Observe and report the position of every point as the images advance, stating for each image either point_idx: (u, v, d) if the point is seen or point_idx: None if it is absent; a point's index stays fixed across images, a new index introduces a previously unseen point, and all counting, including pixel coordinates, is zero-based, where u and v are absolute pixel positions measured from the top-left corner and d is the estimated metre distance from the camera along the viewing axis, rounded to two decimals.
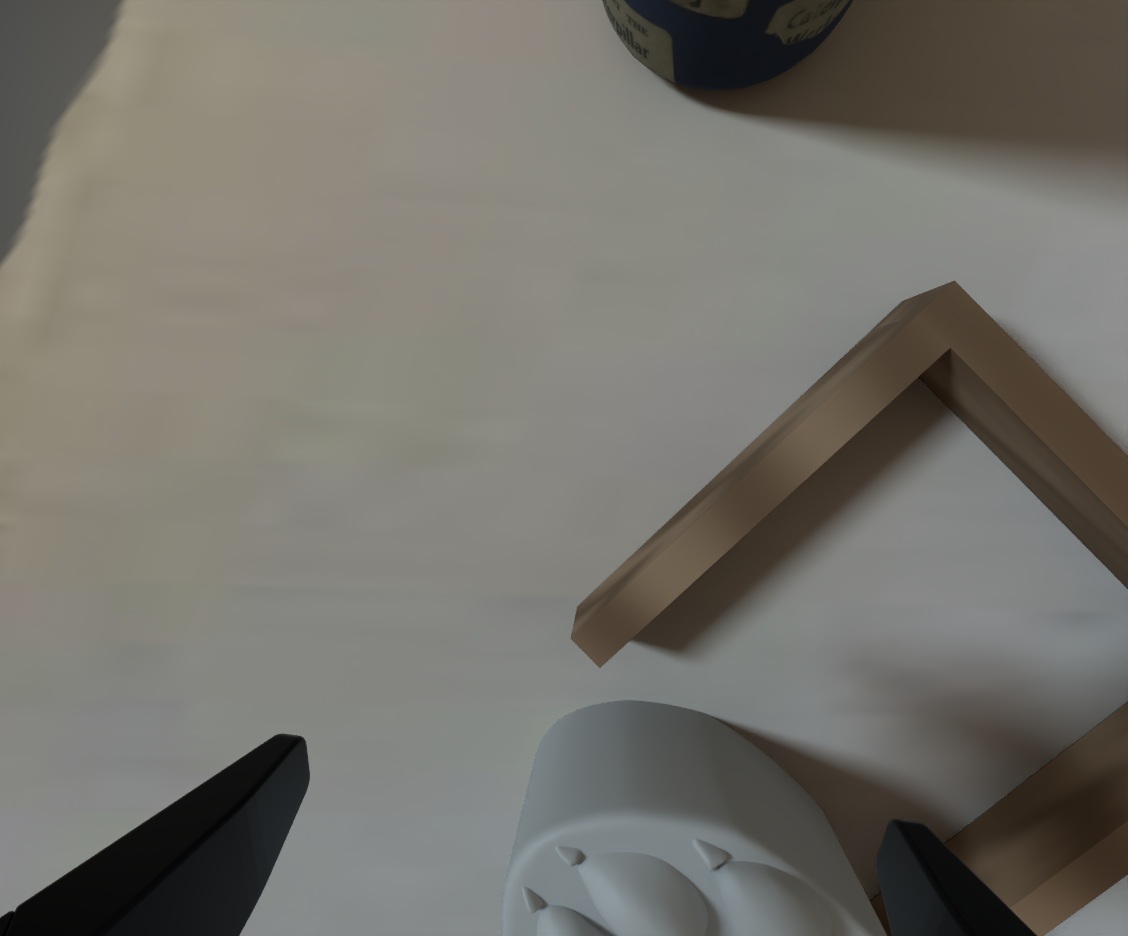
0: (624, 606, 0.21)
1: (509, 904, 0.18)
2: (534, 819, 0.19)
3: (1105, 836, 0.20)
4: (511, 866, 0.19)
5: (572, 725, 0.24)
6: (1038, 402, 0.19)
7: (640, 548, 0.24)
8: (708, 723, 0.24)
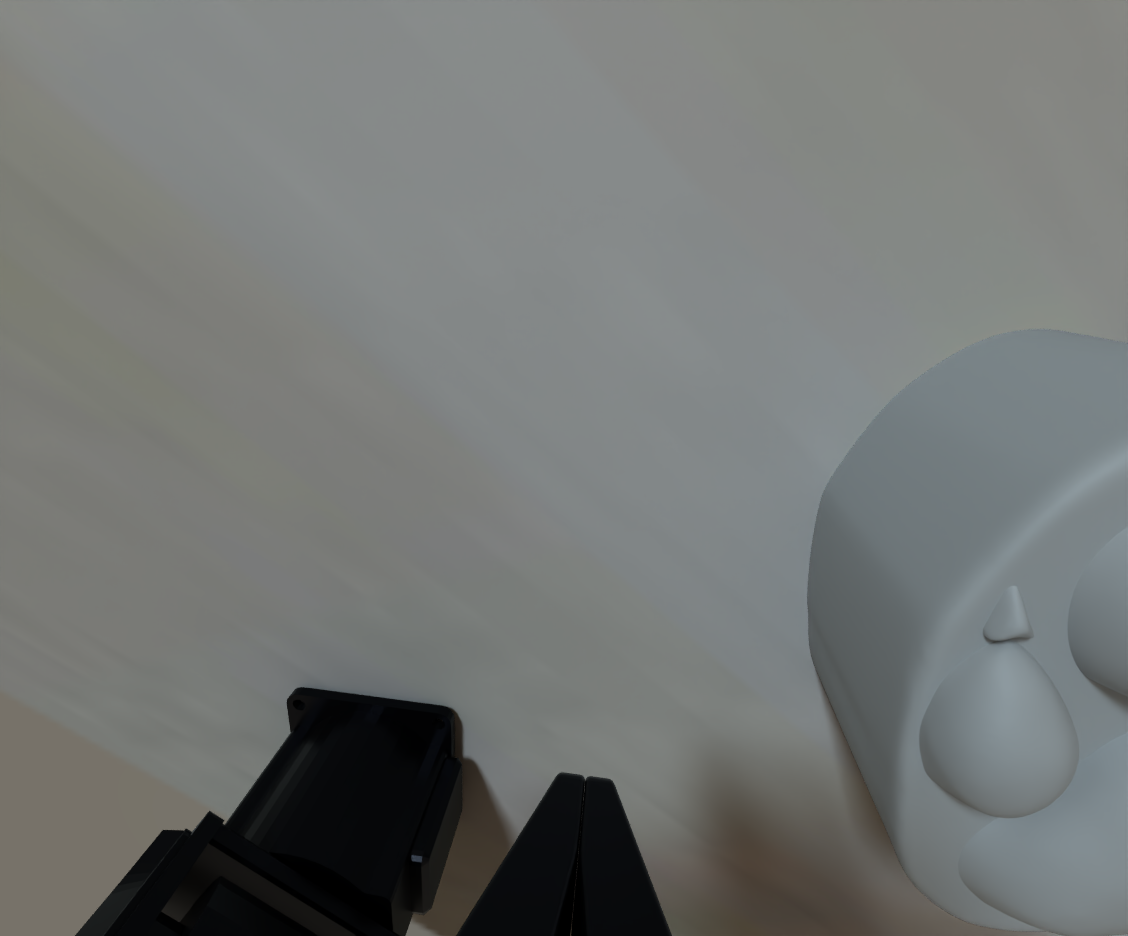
0: None
1: None
2: None
3: None
4: None
5: None
6: None
7: None
8: None
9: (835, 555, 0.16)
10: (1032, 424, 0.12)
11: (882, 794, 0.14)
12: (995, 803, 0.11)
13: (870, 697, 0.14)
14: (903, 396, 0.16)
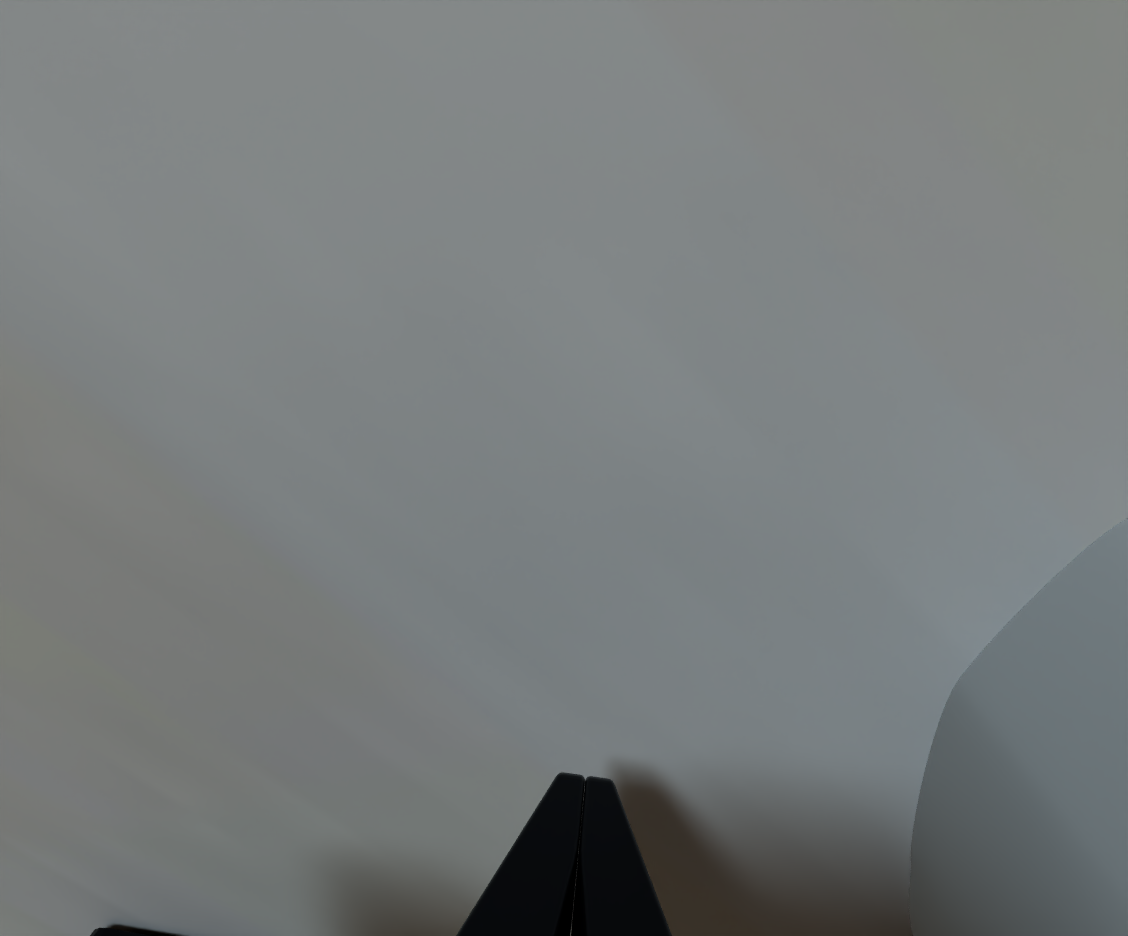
0: None
1: None
2: None
3: None
4: None
5: None
6: None
7: None
8: None
9: (1002, 846, 0.08)
10: None
11: None
12: None
13: None
14: None
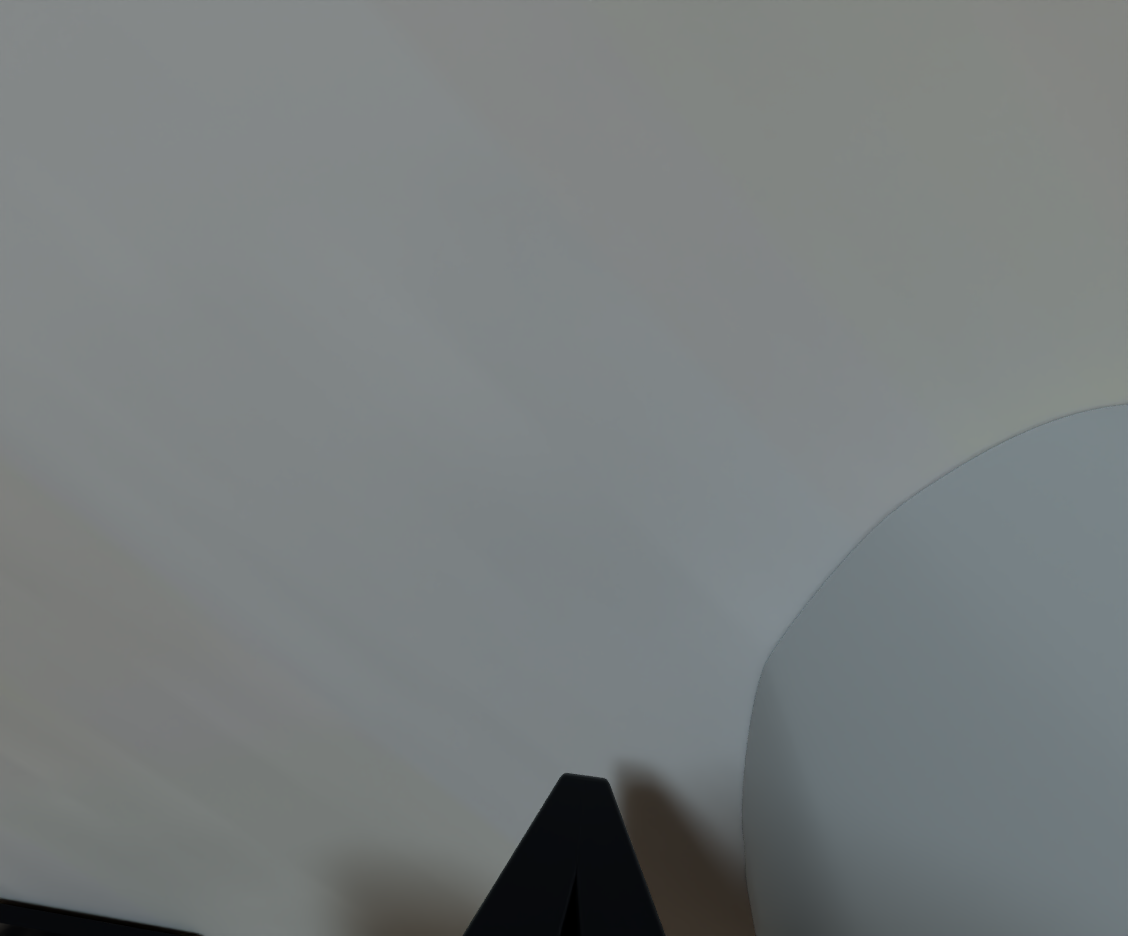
0: None
1: None
2: None
3: None
4: None
5: None
6: None
7: None
8: None
9: (776, 819, 0.09)
10: None
11: None
12: None
13: None
14: (906, 522, 0.09)
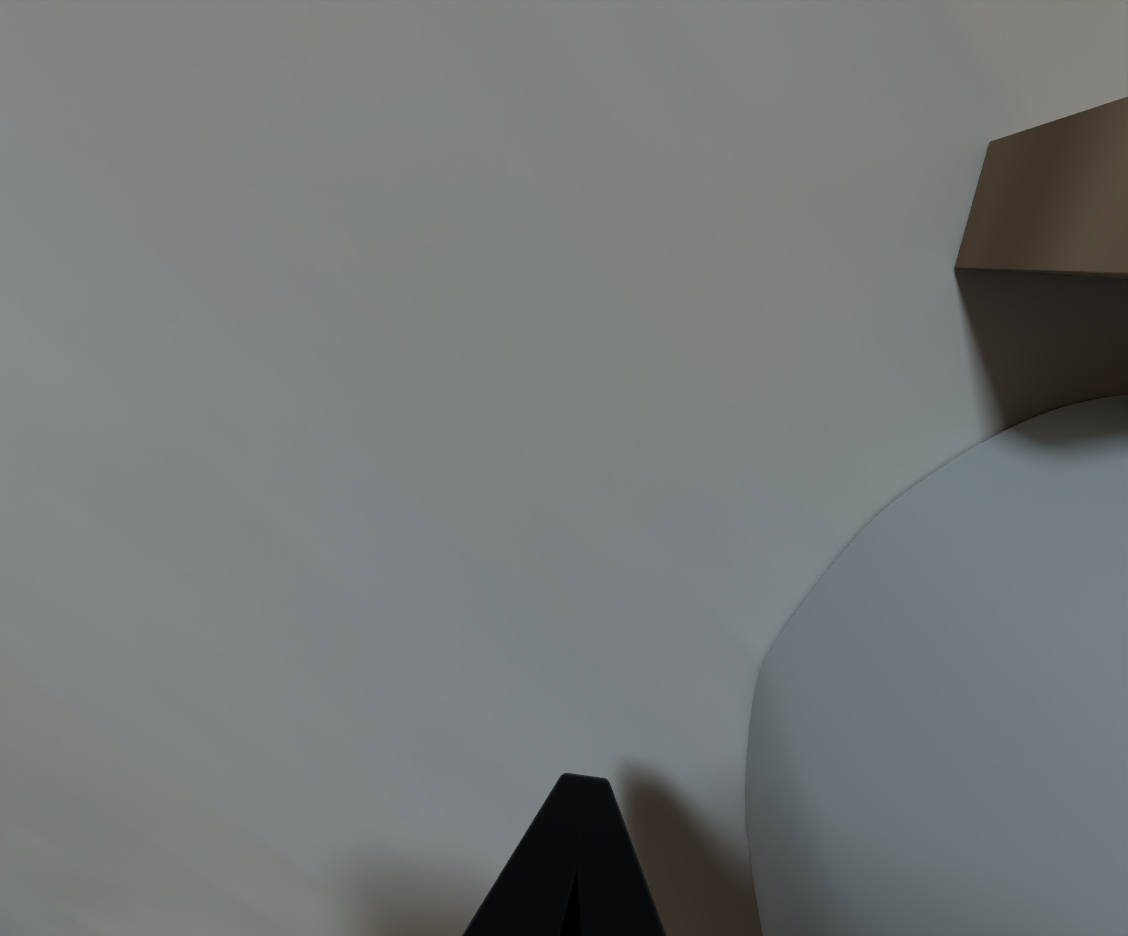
0: None
1: None
2: None
3: None
4: None
5: None
6: None
7: None
8: None
9: (776, 820, 0.09)
10: None
11: None
12: None
13: None
14: (895, 519, 0.09)
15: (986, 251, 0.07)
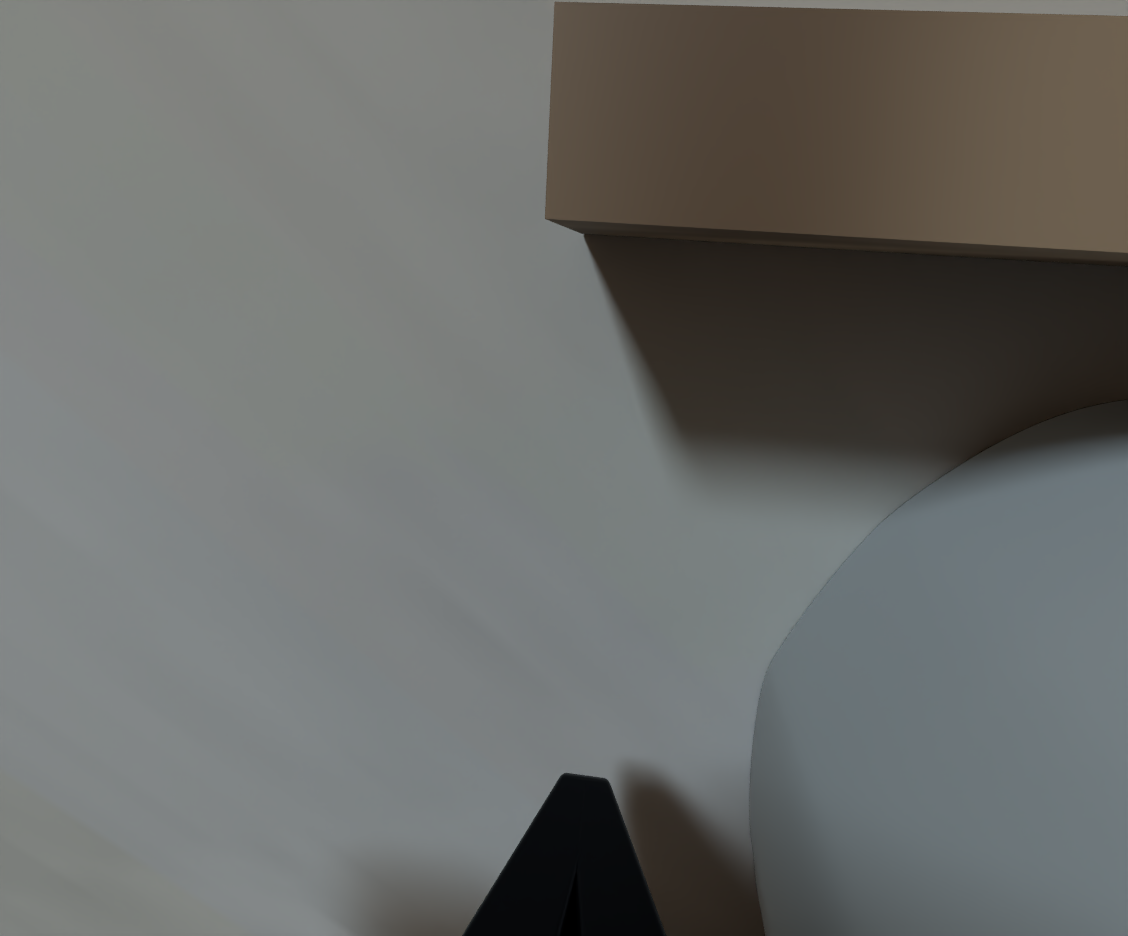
0: (849, 87, 0.04)
1: None
2: None
3: None
4: None
5: None
6: None
7: None
8: None
9: (781, 826, 0.09)
10: None
11: None
12: None
13: None
14: (904, 524, 0.09)
15: None
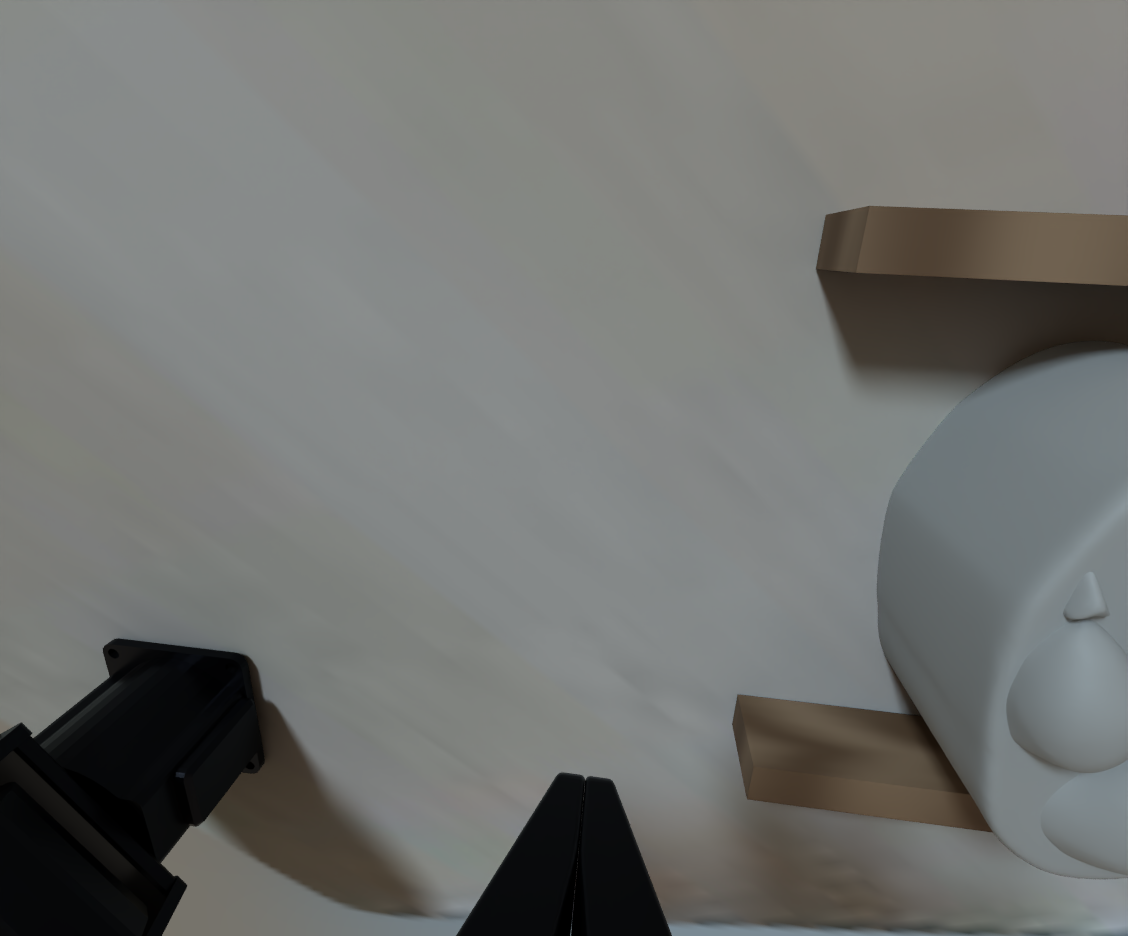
0: (964, 231, 0.14)
1: None
2: None
3: None
4: None
5: None
6: None
7: None
8: None
9: (909, 550, 0.18)
10: (1097, 431, 0.14)
11: (968, 760, 0.16)
12: (1080, 759, 0.13)
13: (954, 675, 0.16)
14: (967, 404, 0.18)
15: (823, 262, 0.17)
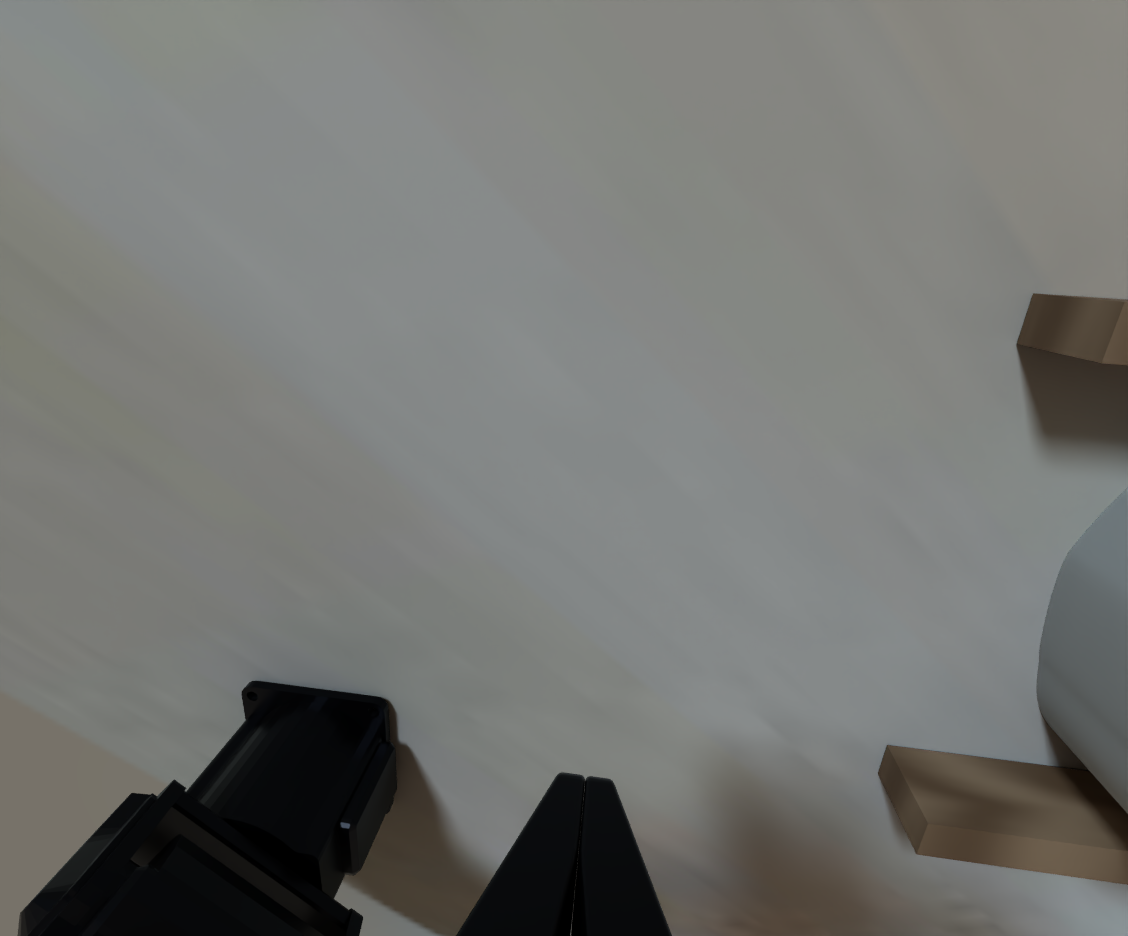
0: None
1: None
2: None
3: None
4: None
5: None
6: None
7: None
8: None
9: (1097, 617, 0.19)
10: None
11: None
12: None
13: None
14: None
15: (1032, 340, 0.17)
